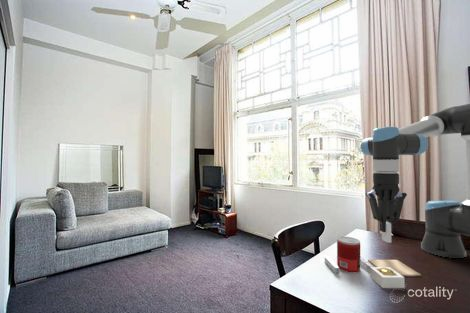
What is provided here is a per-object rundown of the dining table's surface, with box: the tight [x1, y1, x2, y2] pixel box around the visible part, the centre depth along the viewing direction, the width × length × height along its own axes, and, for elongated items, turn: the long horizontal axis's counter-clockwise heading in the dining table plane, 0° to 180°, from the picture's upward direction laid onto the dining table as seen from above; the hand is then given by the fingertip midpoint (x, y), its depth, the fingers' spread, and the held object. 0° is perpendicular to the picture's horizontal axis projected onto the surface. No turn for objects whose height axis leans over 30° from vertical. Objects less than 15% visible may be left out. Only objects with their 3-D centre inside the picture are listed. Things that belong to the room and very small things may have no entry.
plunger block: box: [369, 266, 405, 289], centre depth 78 cm, size 7×7×4 cm
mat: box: [367, 259, 422, 277], centre depth 88 cm, size 12×12×1 cm
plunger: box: [380, 268, 394, 275], centre depth 78 cm, size 4×4×3 cm
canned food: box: [336, 236, 361, 274], centre depth 88 cm, size 8×8×11 cm
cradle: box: [324, 255, 374, 276], centre depth 88 cm, size 14×10×2 cm
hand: (386, 241), depth 78 cm, fingers closed
